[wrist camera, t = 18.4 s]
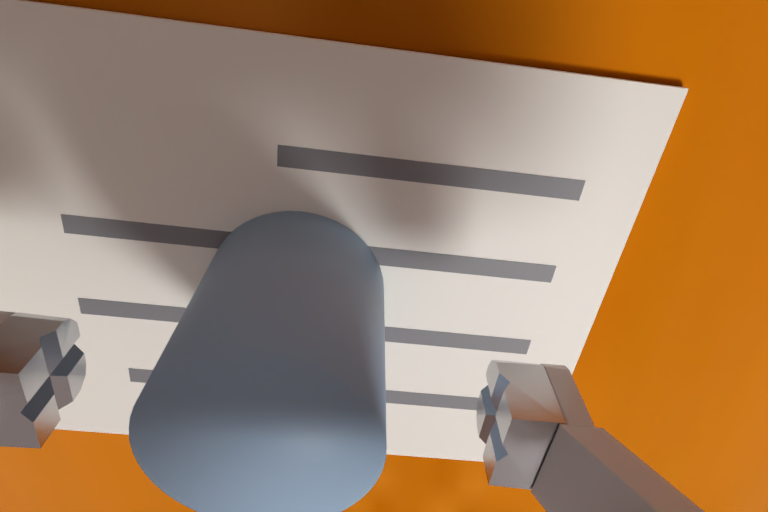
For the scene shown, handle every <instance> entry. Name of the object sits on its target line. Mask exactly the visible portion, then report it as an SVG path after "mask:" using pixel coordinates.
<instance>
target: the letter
mask: <svg viewBox="0 0 768 512" xmlns="http://www.w3.org/2000/svg"><path fill="white" fill-rule="evenodd" d="M687 92H688V88H686V87H680V86H672V85H664V84H657V83H649V82H642V81H634V80H627V79H619V78H611V77H604V76H596V75H589V74H581V73H574V72H566V71H559V70H551V69H543V68H536V67H528V66H521V65H513V64H506V63H498V62H490V61H483V60H475V59H468V58H460V57H453V56H445V55H437V54H430V53H422V52H415V51H407V50H400V49H392V48H384V47H377V46H369V45H362V44H354V43H347V42H339V41H331V40H324V39H316V38H309V37H301V36H294V35H286V34H279V33H271V32H263V31H256V30H248V29H241V28H233V27H226V26H218V25H210V24H203V23H195V22H188V21H180V20H173V19H165V18H157V17H150V16H142V15H135V14H127V13H120V12H112V11H104V10H97V9H89V8H82V7H74V6H67V5H59V4H52V3H44V2H36V1H29V0H0V311H8V312H15V313H18V312H20V313H29V314H37V315H45V316H54V317H62V318H70V319H72V320H74V321H76V322H77V324H78V328H79V332H80V337H79V338H78V339H77V341H76V342H75V343H74V344H75V345H76V346H77V347H78V348H79V349H80V350H81V351H82V352H83V353H84V355H85V360H86V376H85V379H84V382H83V385H82V388H81V390H80V392H79V393H78V395H77V396H76V398H75V399H74V401H73V402H71V403H70V404H68V405H66V406H64V407H62V408H61V409H59V415H60V419H61V420H60V421H59V423H58V424H57V426H56V427H55V429H62V430H75V431H89V432H102V433H115V434H128V435H129V421H130V416H131V413H132V410H133V407H134V405H135V403H136V401H137V399H138V397H139V395H140V393H141V392H142V390H143V388H144V386H145V384H146V382H147V380H148V378H149V377H150V375H151V373H152V371H153V369H154V367H155V365H156V364H157V362H158V360H159V358H160V356H161V354H162V352H163V351H164V349H165V347H166V345H167V343H168V341H169V339H170V338H171V336H172V334H173V332H174V330H175V328H176V326H177V325H178V323H179V321H180V319H181V317H182V315H183V313H184V311H185V310H186V308H187V306H188V304H189V302H190V300H191V298H192V297H193V295H194V293H195V291H196V289H197V287H198V285H199V284H200V282H201V280H202V278H203V276H204V274H205V272H206V271H207V269H208V267H209V265H210V263H211V261H212V259H213V258H214V256H215V254H216V252H217V250H218V248H219V247H220V245H221V243H222V242H223V241H224V240H225V238H226V237H227V236H228V235H229V234H230V233H231V232H232V231H233V230H235V229H236V228H237V227H239V226H240V225H242V224H243V223H245V222H247V221H249V220H251V219H253V218H255V217H258V216H261V215H264V214H269V213H274V212H282V211H301V212H308V213H314V214H317V215H321V216H324V217H327V218H329V219H332V220H334V221H337V222H338V223H340V224H342V225H344V226H346V227H347V228H349V229H350V230H351V231H353V232H354V233H355V234H357V235H358V236H359V237H360V238H361V239H362V240H363V241H364V242H365V243H366V244H367V246H368V247H369V248H370V249H371V251H372V252H373V254H374V256H375V257H376V259H377V261H378V263H379V266H380V268H381V272H382V276H383V282H384V319H385V379H386V439H387V450H386V454H390V455H403V456H416V457H430V458H443V459H456V460H469V461H482V462H484V460H483V453H484V449H485V446H486V444H485V443H484V442H483V441H482V440H481V439H480V438H479V435H478V429H477V419H476V414H477V403H478V399H479V395H480V391H481V390H482V389H483V388H485V387H486V386H487V385H488V383H487V378H486V371H487V368H488V365H489V363H490V362H491V360H501V361H512V362H523V363H534V364H553V365H565V366H566V367H567V368H568V369H569V371H570V373H571V375H572V373H573V371H574V368H575V366H576V363H577V361H578V359H579V356H580V354H581V351H582V349H583V346H584V344H585V341H586V339H587V337H588V334H589V332H590V329H591V327H592V324H593V322H594V319H595V317H596V315H597V312H598V310H599V307H600V305H601V302H602V300H603V297H604V295H605V293H606V290H607V288H608V285H609V283H610V280H611V278H612V275H613V273H614V270H615V268H616V266H617V263H618V261H619V258H620V256H621V253H622V251H623V248H624V246H625V244H626V241H627V239H628V236H629V234H630V231H631V229H632V226H633V224H634V222H635V219H636V217H637V214H638V212H639V209H640V207H641V204H642V202H643V200H644V197H645V195H646V192H647V190H648V187H649V185H650V182H651V180H652V178H653V175H654V173H655V170H656V168H657V165H658V163H659V160H660V158H661V156H662V153H663V151H664V148H665V146H666V143H667V141H668V138H669V136H670V133H671V131H672V129H673V126H674V124H675V121H676V119H677V116H678V114H679V111H680V109H681V107H682V104H683V102H684V99H685V97H686V94H687Z"/></svg>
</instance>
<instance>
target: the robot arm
mask: <svg viewBox="0 0 768 512" xmlns="http://www.w3.org/2000/svg"><path fill="white" fill-rule="evenodd" d="M79 337H80V332H79V328H78V324H77V322H76V321H74V320H72V319H70V318H62V317H54V316H45V315H37V314H29V313H20V312H18V313H15V312H8V311H0V446H6V447H25V448H41V447H42V446H43V444H44V443H45V442H46V440H47V439H48V437H49V436H50V434H51V433H52V431H53V430H54V429H55V427H56V426H57V424H58V423H59V421H60V420H61V419H60V415H59V409H61V408H62V407H64V406H66V405H68V404H70V403H71V402H73V401H74V399H75V398H76V396H77V395H78V393H79V392H80V390H81V388H82V385H83V382H84V379H85V376H86V360H85V355H84V353H83V352H82V351H81V350H80V349H79V348H78V347H77V346H76V345H75V344H74V343H75V342H76V341H77V339H78V338H79ZM486 378H487V383H488V385H487V386H486V387H485V388H483V389H482V390H481V391H480V395H479V399H478V403H477V414H476V419H477V429H478V435H479V438H480V439H481V440H482V441H483V442H484V443H485V444H486V446H485V449H484V453H483V460H484V465H485V470H486V475H487V480H488V485H494V486H503V487H512V488H522V489H531V490H532V491H531V492H532V493H533V495H534V496H535V497H536V499H537V500H538V501H539V502H540V504H541V505H542V506H543V507H544V509H545V510H546V511H547V512H704V511H703V510H702V509H700V508H699V507H698V506H697V505H695V504H694V503H693V502H692V501H691V500H689V499H688V498H687V497H686V496H685V495H683V494H682V493H681V492H680V491H678V490H677V489H676V488H675V487H674V486H672V485H671V484H670V483H669V482H668V481H666V480H665V479H664V478H663V477H661V476H660V475H659V474H658V473H657V472H655V471H654V470H653V469H652V468H651V467H649V466H648V465H647V464H646V463H644V462H643V461H642V460H641V459H640V458H638V457H637V456H636V455H635V454H634V453H632V452H631V451H630V450H629V449H627V448H626V447H625V446H624V445H623V444H621V443H620V442H619V441H618V440H617V439H615V438H614V437H613V436H612V435H610V434H609V433H608V432H607V431H606V430H604V429H603V428H597V427H595V426H594V423H593V421H592V419H591V417H590V415H589V412H588V410H587V408H586V406H585V404H584V401H583V399H582V397H581V395H580V393H579V390H578V388H577V386H576V384H575V382H574V379H573V377H572V375H571V373H570V371H569V369H568V368H567V367H566V366H565V365H553V364H534V363H523V362H512V361H501V360H491V362H490V363H489V365H488V368H487V371H486Z"/></svg>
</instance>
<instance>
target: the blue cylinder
mask: <svg viewBox="0 0 768 512" xmlns="http://www.w3.org/2000/svg"><path fill="white" fill-rule="evenodd" d="M129 441H130V444H131V448H132V451H133V454H134V456H135V458H136V460H137V462H138V464H139V465H140V467H141V468H142V470H143V471H144V473H145V474H146V475H147V476H148V477H149V478H150V480H151V481H152V482H153V483H154V484H155V485H156V486H158V487H159V488H160V489H161V490H162V491H163V492H164V493H166V494H167V495H169V496H170V497H172V498H173V499H174V500H176V501H178V502H180V503H181V504H183V505H185V506H187V507H189V508H191V509H193V510H195V511H197V512H341V511H343V510H345V509H347V508H348V507H350V506H352V505H353V504H355V503H356V502H357V501H359V500H360V499H361V498H363V497H364V496H365V495H366V494H367V493H368V492H369V491H370V490H371V488H372V487H373V486H374V484H375V483H376V482H377V480H378V478H379V476H380V474H381V472H382V470H383V467H384V464H385V460H386V450H387V439H386V379H385V319H384V282H383V276H382V272H381V268H380V266H379V263H378V261H377V259H376V257H375V256H374V254H373V252H372V251H371V249H370V248H369V247H368V246H367V244H366V243H365V242H364V241H363V240H362V239H361V238H360V237H359V236H358V235H357V234H355V233H354V232H353V231H351V230H350V229H349V228H347V227H346V226H344V225H342V224H340V223H338V222H337V221H334V220H332V219H329V218H327V217H324V216H321V215H317V214H314V213H308V212H301V211H282V212H274V213H269V214H264V215H261V216H258V217H255V218H253V219H251V220H249V221H247V222H245V223H243V224H242V225H240V226H239V227H237V228H236V229H235V230H233V231H232V232H231V233H230V234H229V235H228V236H227V237H226V238H225V240H224V241H223V242H222V243H221V245H220V247H219V248H218V250H217V252H216V254H215V256H214V258H213V259H212V261H211V263H210V265H209V267H208V269H207V271H206V272H205V274H204V276H203V278H202V280H201V282H200V284H199V285H198V287H197V289H196V291H195V293H194V295H193V297H192V298H191V300H190V302H189V304H188V306H187V308H186V310H185V311H184V313H183V315H182V317H181V319H180V321H179V323H178V325H177V326H176V328H175V330H174V332H173V334H172V336H171V338H170V339H169V341H168V343H167V345H166V347H165V349H164V351H163V352H162V354H161V356H160V358H159V360H158V362H157V364H156V365H155V367H154V369H153V371H152V373H151V375H150V377H149V378H148V380H147V382H146V384H145V386H144V388H143V390H142V392H141V393H140V395H139V397H138V399H137V401H136V403H135V405H134V407H133V410H132V413H131V416H130V421H129Z"/></svg>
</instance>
